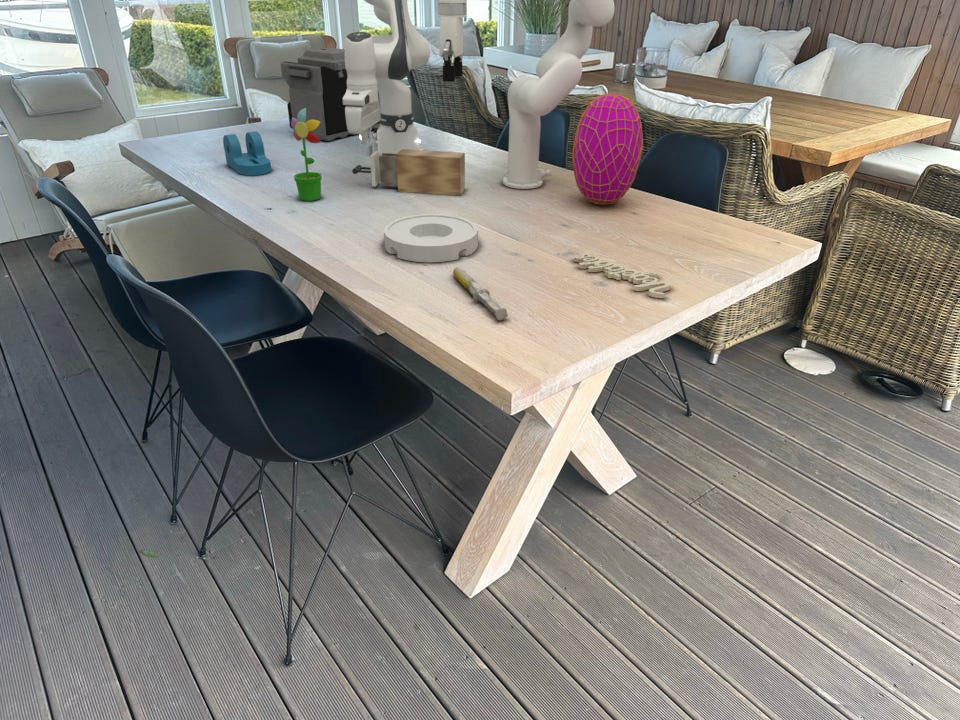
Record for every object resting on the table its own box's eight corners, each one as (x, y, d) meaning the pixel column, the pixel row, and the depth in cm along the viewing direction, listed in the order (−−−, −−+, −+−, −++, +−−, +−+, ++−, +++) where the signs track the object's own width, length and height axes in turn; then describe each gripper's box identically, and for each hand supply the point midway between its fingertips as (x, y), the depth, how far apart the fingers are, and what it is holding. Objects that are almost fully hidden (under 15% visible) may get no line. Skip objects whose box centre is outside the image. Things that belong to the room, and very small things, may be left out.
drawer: (352, 185, 211) (350, 154, 207) (358, 180, 216) (356, 149, 211) (430, 190, 208) (429, 158, 203) (434, 185, 212) (433, 154, 207)
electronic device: (351, 120, 297) (345, 44, 282) (389, 127, 286) (385, 48, 271) (285, 135, 271) (274, 52, 256) (324, 143, 260) (315, 57, 245)
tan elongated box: (397, 191, 209) (396, 154, 203) (403, 185, 215) (402, 149, 209) (460, 195, 206) (460, 157, 200) (464, 189, 212) (464, 152, 206)
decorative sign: (686, 282, 150) (660, 295, 144) (686, 286, 150) (659, 300, 144) (592, 249, 166) (565, 259, 160) (592, 253, 167) (565, 263, 161)
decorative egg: (611, 217, 189) (624, 103, 174) (555, 202, 201) (562, 94, 185) (647, 202, 202) (662, 94, 186) (592, 188, 213) (602, 86, 198)
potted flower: (330, 196, 204) (321, 108, 191) (314, 203, 197) (304, 113, 185) (304, 192, 207) (294, 105, 194) (288, 199, 201) (276, 109, 188)
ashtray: (391, 227, 181) (390, 212, 179) (479, 229, 180) (479, 214, 178) (377, 261, 161) (376, 245, 159) (476, 263, 160) (476, 247, 158)
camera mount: (227, 164, 233) (221, 132, 227) (257, 160, 238) (252, 129, 233) (244, 176, 220) (239, 143, 215) (276, 172, 225) (271, 139, 220)
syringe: (449, 274, 155) (449, 263, 153) (465, 272, 156) (464, 260, 154) (490, 323, 135) (491, 310, 133) (508, 319, 136) (508, 307, 134)
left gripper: (364, 88, 209) (367, 134, 216) (340, 99, 192) (344, 150, 199) (384, 89, 208) (386, 135, 215) (361, 100, 191) (365, 151, 198)
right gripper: (446, 8, 192) (447, 73, 201) (430, 12, 178) (432, 83, 186) (472, 9, 191) (472, 74, 200) (458, 13, 176) (459, 84, 185)
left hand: (366, 142), depth 207 cm, fingers closed
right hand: (452, 78), depth 193 cm, fingers open, 9 cm apart
